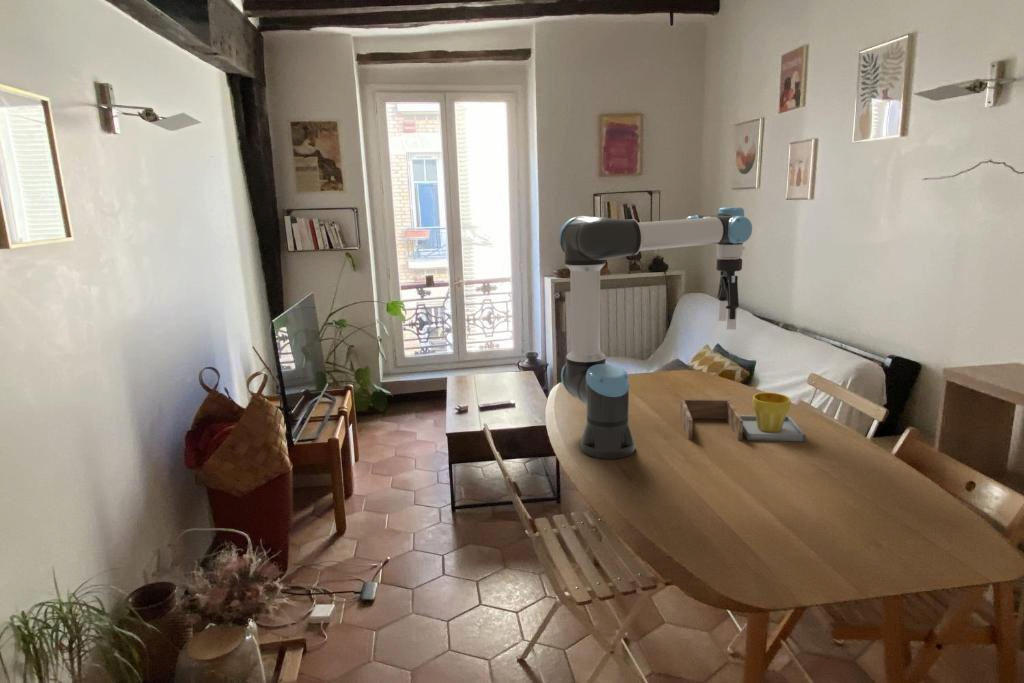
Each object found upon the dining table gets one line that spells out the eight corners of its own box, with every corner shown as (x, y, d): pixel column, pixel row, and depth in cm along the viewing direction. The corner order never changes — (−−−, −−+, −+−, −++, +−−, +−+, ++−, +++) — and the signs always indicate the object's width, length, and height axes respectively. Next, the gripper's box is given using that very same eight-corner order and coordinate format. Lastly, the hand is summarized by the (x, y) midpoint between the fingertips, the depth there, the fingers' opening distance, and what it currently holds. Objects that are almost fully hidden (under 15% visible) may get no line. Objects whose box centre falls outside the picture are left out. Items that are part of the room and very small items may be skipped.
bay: (742, 440, 178) (743, 420, 177) (688, 439, 181) (689, 420, 179) (728, 417, 197) (729, 399, 195) (680, 416, 199) (680, 399, 198)
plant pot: (792, 435, 178) (794, 403, 176) (754, 434, 180) (755, 402, 178) (784, 423, 188) (786, 392, 186) (748, 421, 190) (750, 391, 188)
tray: (805, 441, 176) (805, 434, 176) (748, 440, 178) (748, 433, 178) (788, 421, 191) (789, 415, 191) (736, 421, 193) (736, 415, 193)
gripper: (751, 261, 180) (747, 333, 185) (733, 253, 204) (730, 317, 209) (724, 262, 181) (721, 333, 186) (710, 254, 205) (707, 317, 210)
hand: (726, 324), depth 197 cm, fingers open, 13 cm apart
